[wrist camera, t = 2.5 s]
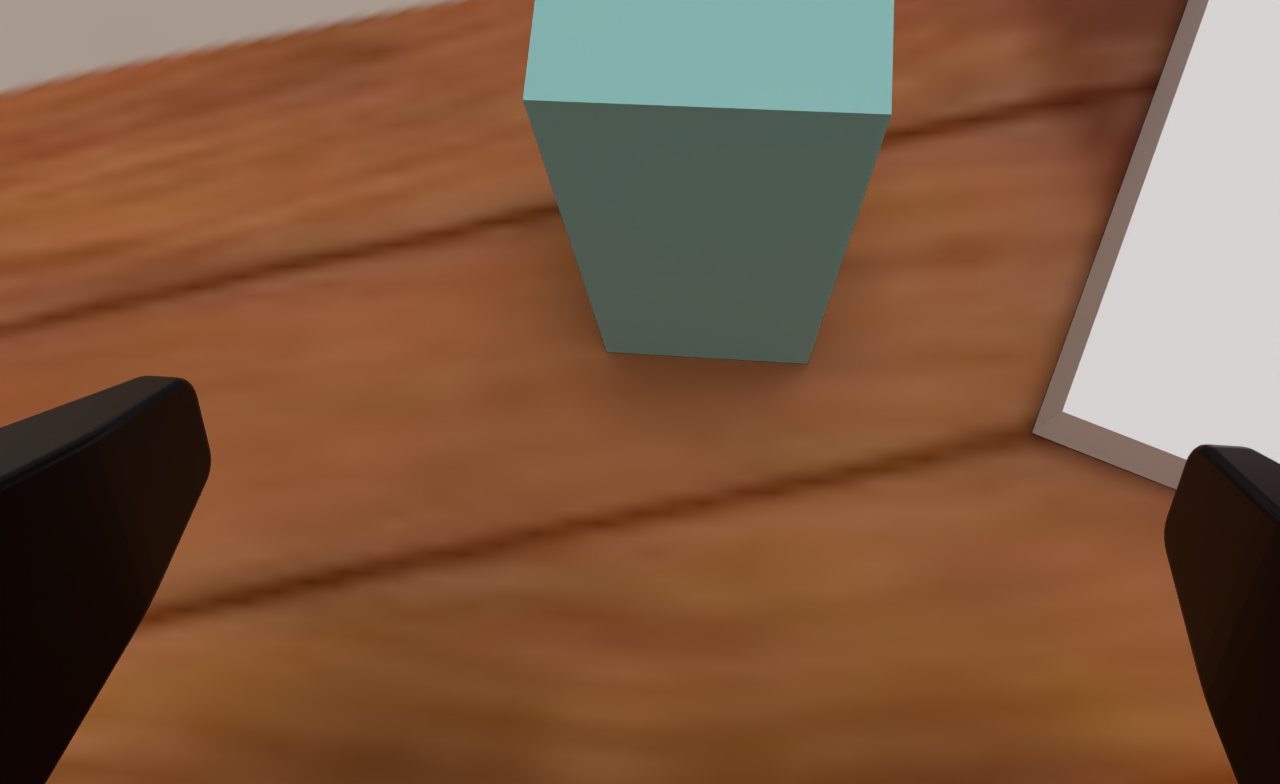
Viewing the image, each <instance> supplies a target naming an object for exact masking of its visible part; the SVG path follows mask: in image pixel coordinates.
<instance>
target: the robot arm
mask: <svg viewBox="0 0 1280 784" xmlns="http://www.w3.org/2000/svg"><path fill="white" fill-rule="evenodd" d="M210 466H211V454H210V448H209V444H208V440H207V435H206V431H205V427H204V423H203V419H202V415H201V411H200V406H199V402H198V398H197V395H196V392H195V389H194V388H193V386H192V385H191V384H190V383H189V382H188V381H187V380H185V379H183V378H177V377H161V376H142V377H138V378H135V379H133V380H130V381H127V382H124V383H122V384H119V385H116V386H113V387H111V388H108V389H105V390H103V391H100V392H97V393H94V394H92V395H89V396H86V397H83V398H81V399H78V400H75V401H73V402H70V403H67V404H64V405H62V406H59V407H56V408H53V409H51V410H48V411H45V412H42V413H40V414H37V415H34V416H32V417H29V418H26V419H23V420H21V421H18V422H15V423H12V424H10V425H7V426H4V427H2V428H0V784H45V783H46V782H47V780H48V778H49V777H50V775H51V773H52V771H53V770H54V768H55V766H56V765H57V763H58V761H59V760H60V758H61V756H62V755H63V753H64V751H65V750H66V748H67V746H68V745H69V743H70V741H71V739H72V738H73V736H74V734H75V733H76V731H77V729H78V728H79V726H80V724H81V723H82V721H83V719H84V718H85V716H86V714H87V712H88V711H89V709H90V707H91V706H92V704H93V702H94V701H95V699H96V697H97V696H98V694H99V692H100V691H101V689H102V687H103V686H104V684H105V682H106V680H107V679H108V677H109V675H110V674H111V672H112V670H113V669H114V667H115V665H116V664H117V662H118V660H119V659H120V657H121V655H122V653H123V652H124V650H125V648H126V647H127V645H128V643H129V642H130V640H131V638H132V637H133V635H134V633H135V632H136V630H137V628H138V626H139V624H140V623H141V621H142V619H143V617H144V615H145V614H146V612H147V610H148V608H149V606H150V604H151V602H152V600H153V598H154V596H155V594H156V592H157V590H158V588H159V586H160V583H161V581H162V579H163V577H164V575H165V572H166V570H167V568H168V566H169V563H170V561H171V559H172V557H173V555H174V552H175V550H176V548H177V546H178V544H179V541H180V539H181V537H182V535H183V532H184V530H185V528H186V526H187V524H188V521H189V519H190V517H191V515H192V512H193V510H194V508H195V506H196V504H197V501H198V499H199V497H200V495H201V492H202V490H203V488H204V486H205V484H206V481H207V479H208V476H209V472H210ZM1164 541H1165V548H1166V553H1167V557H1168V561H1169V565H1170V568H1171V572H1172V576H1173V580H1174V584H1175V588H1176V592H1177V595H1178V599H1179V603H1180V607H1181V611H1182V615H1183V619H1184V622H1185V626H1186V630H1187V634H1188V638H1189V642H1190V646H1191V649H1192V653H1193V657H1194V661H1195V665H1196V669H1197V673H1198V676H1199V679H1200V683H1201V686H1202V689H1203V693H1204V696H1205V699H1206V702H1207V705H1208V708H1209V710H1210V713H1211V716H1212V719H1213V721H1214V724H1215V727H1216V729H1217V732H1218V734H1219V737H1220V739H1221V742H1222V744H1223V747H1224V749H1225V752H1226V754H1227V757H1228V760H1229V762H1230V765H1231V767H1232V770H1233V772H1234V775H1235V777H1236V780H1237V782H1238V784H1280V463H1278V462H1276V461H1274V460H1272V459H1270V458H1268V457H1267V456H1265V455H1263V454H1261V453H1259V452H1257V451H1255V450H1253V449H1251V448H1248V447H1243V446H1230V445H1214V444H1203V445H1200V446H1198V447H1196V448H1195V449H1193V450H1192V452H1191V453H1190V455H1189V456H1188V458H1187V461H1186V463H1185V466H1184V469H1183V472H1182V475H1181V478H1180V481H1179V484H1178V486H1177V489H1176V492H1175V495H1174V498H1173V501H1172V504H1171V507H1170V510H1169V513H1168V516H1167V519H1166V523H1165V529H1164Z"/></svg>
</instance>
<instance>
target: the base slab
mask: <svg viewBox="0 0 1280 784" xmlns="http://www.w3.org/2000/svg"><path fill="white" fill-rule="evenodd" d="M1032 433H1033V434H1036V435H1039V436H1041V437H1044V438H1046V439H1049V440H1051V441H1054V442H1056V443H1059V444H1061V445H1064V446H1067V447H1069V448H1072V449H1074V450H1077V451H1079V452H1082V453H1084V454H1087V455H1089V456H1092V457H1094V458H1097V459H1100V460H1102V461H1105V462H1107V463H1110V464H1112V465H1115V466H1117V467H1120V468H1122V469H1125V470H1128V471H1130V472H1133V473H1135V474H1138V475H1140V476H1143V477H1145V478H1148V479H1150V480H1153V481H1155V482H1158V483H1161V484H1163V485H1166V486H1168V487H1171V488H1173V489H1177V486H1178V484H1179V481H1180V478H1181V475H1182V472H1183V469H1184V466H1185V463H1186V461H1187V458H1188V456H1189V455H1190V453H1191V452H1192V450H1193V449H1195V448H1196V447H1198V446H1200V445H1203V444H1214V445H1230V446H1243V447H1248V448H1251V449H1253V450H1255V451H1257V452H1259V453H1261V454H1263V455H1265V456H1267V457H1268V458H1270V459H1272V460H1274V461H1276V462H1278V463H1280V0H1188V3H1187V5H1186V8H1185V11H1184V14H1183V17H1182V19H1181V22H1180V25H1179V28H1178V30H1177V33H1176V36H1175V39H1174V41H1173V44H1172V47H1171V50H1170V52H1169V55H1168V58H1167V61H1166V64H1165V66H1164V69H1163V72H1162V75H1161V77H1160V80H1159V83H1158V86H1157V88H1156V91H1155V94H1154V97H1153V99H1152V102H1151V105H1150V108H1149V111H1148V113H1147V116H1146V119H1145V122H1144V124H1143V127H1142V130H1141V133H1140V135H1139V138H1138V141H1137V144H1136V146H1135V149H1134V152H1133V155H1132V158H1131V160H1130V163H1129V166H1128V169H1127V171H1126V174H1125V177H1124V180H1123V182H1122V185H1121V188H1120V191H1119V193H1118V196H1117V199H1116V202H1115V205H1114V207H1113V210H1112V213H1111V216H1110V218H1109V221H1108V224H1107V227H1106V229H1105V232H1104V235H1103V238H1102V240H1101V243H1100V246H1099V249H1098V252H1097V254H1096V257H1095V260H1094V263H1093V265H1092V268H1091V271H1090V274H1089V276H1088V279H1087V282H1086V285H1085V287H1084V290H1083V293H1082V296H1081V299H1080V301H1079V304H1078V307H1077V310H1076V312H1075V315H1074V318H1073V321H1072V323H1071V326H1070V329H1069V332H1068V334H1067V337H1066V340H1065V343H1064V346H1063V348H1062V351H1061V354H1060V357H1059V359H1058V362H1057V365H1056V368H1055V370H1054V373H1053V376H1052V379H1051V381H1050V384H1049V387H1048V390H1047V393H1046V395H1045V398H1044V401H1043V404H1042V406H1041V409H1040V412H1039V415H1038V417H1037V420H1036V423H1035V426H1034V429H1033V431H1032Z"/></svg>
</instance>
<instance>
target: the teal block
mask: <svg viewBox="0 0 1280 784" xmlns="http://www.w3.org/2000/svg"><path fill="white" fill-rule="evenodd" d="M893 22H894V0H535V6H534V14H533V22H532V30H531V38H530V46H529V54H528V62H527V71H526V79H525V87H524V95H523V102H524V105H525V108H526V111H527V114H528V117H529V120H530V123H531V126H532V129H533V132H534V135H535V138H536V141H537V144H538V147H539V150H540V153H541V156H542V159H543V162H544V165H545V168H546V171H547V174H548V177H549V180H550V183H551V186H552V189H553V192H554V195H555V198H556V201H557V204H558V207H559V210H560V213H561V216H562V219H563V222H564V225H565V228H566V231H567V234H568V237H569V240H570V243H571V246H572V249H573V252H574V255H575V258H576V261H577V264H578V267H579V270H580V273H581V276H582V279H583V282H584V285H585V288H586V291H587V294H588V297H589V300H590V303H591V306H592V309H593V312H594V315H595V318H596V321H597V324H598V327H599V330H600V333H601V336H602V339H603V342H604V345H605V348H606V351H607V352H615V353H632V354H649V355H665V356H682V357H699V358H715V359H732V360H749V361H765V362H782V363H799V364H808V362H809V359H810V356H811V353H812V350H813V347H814V344H815V341H816V338H817V335H818V332H819V329H820V326H821V323H822V320H823V317H824V314H825V311H826V308H827V305H828V302H829V299H830V296H831V293H832V290H833V287H834V284H835V281H836V278H837V275H838V272H839V269H840V266H841V263H842V260H843V257H844V254H845V251H846V248H847V245H848V242H849V239H850V236H851V234H852V231H853V228H854V225H855V222H856V219H857V216H858V213H859V210H860V207H861V204H862V201H863V198H864V195H865V192H866V189H867V186H868V183H869V180H870V177H871V174H872V171H873V168H874V165H875V162H876V159H877V156H878V153H879V150H880V147H881V144H882V141H883V138H884V135H885V132H886V129H887V126H888V123H889V120H890V117H891V108H892V65H893Z"/></svg>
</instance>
